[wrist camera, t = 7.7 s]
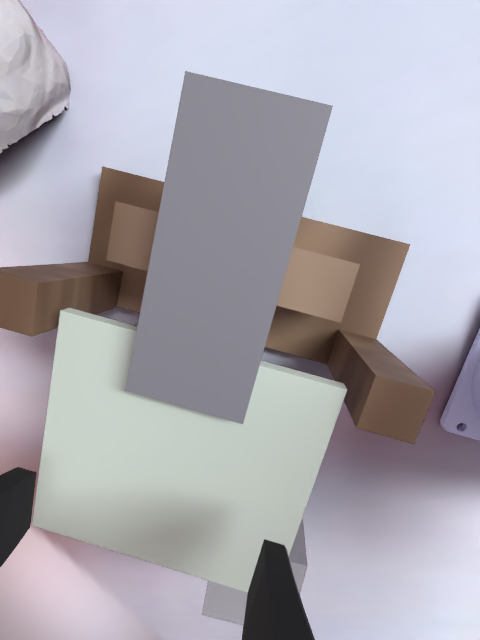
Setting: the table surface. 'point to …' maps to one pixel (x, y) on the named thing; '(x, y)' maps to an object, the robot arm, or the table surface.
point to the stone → (27, 75)
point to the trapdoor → (197, 359)
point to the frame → (291, 310)
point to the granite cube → (233, 602)
